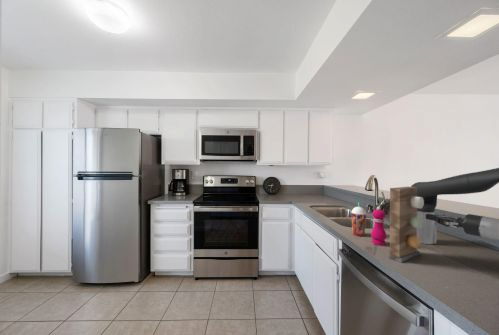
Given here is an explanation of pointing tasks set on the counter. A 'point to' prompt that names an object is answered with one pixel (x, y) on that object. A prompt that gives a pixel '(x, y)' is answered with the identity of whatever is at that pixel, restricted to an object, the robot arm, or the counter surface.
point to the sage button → (417, 222)
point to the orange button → (413, 241)
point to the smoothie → (358, 220)
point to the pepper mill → (378, 228)
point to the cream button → (417, 202)
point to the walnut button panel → (402, 223)
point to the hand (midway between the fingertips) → (426, 216)
